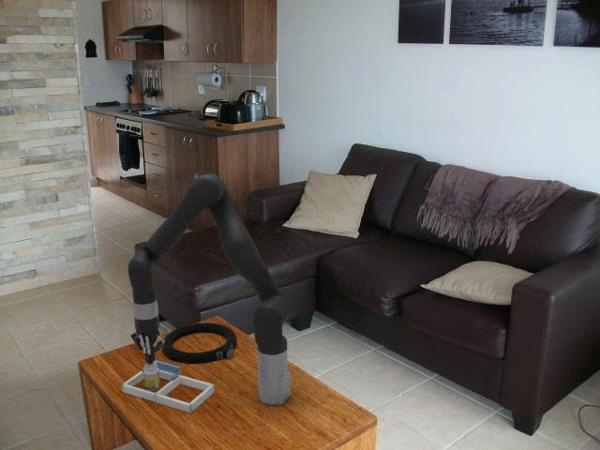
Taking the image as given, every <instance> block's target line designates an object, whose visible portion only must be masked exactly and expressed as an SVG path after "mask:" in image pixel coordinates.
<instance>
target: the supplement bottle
mask: <svg viewBox="0 0 600 450" xmlns="http://www.w3.org/2000/svg"><path fill="white" fill-rule="evenodd" d="M144 367H145V370H144V385H145V390H147V391H150V392H153V391H156V390H159V388H160V387H161V380H160V379H161V378H160V377H159V369H158V367H157V363H156V362H155V361H154V362H153V363H152V364H147V363H145V364H144V366H143V368H144Z"/></svg>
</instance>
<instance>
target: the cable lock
mask: <svg viewBox="0 0 600 450" xmlns="http://www.w3.org/2000/svg"><path fill="white" fill-rule="evenodd" d="M205 332H206V333H215V334H219V335H221V336H223V337H225V339H226V342H225V343H224V344H223V345H220V346H218V347H217V348H214V349H212V350H211V349H210V350H207V351H200V352H188V351H182V350H178V348H177V349H176V348H175V347H174V346H173V343H174V342H176V340H177V339H179V338H181V337H183V336H187V335H190V334H194V333H205ZM164 338H165V339H166V342H165V343H164V345H163V346H162V347H161V349H162V351H163V352H164V354H165V355H166V357H169V358H170V359H172V360H174V361H175V360H176V361H178V362H183V363H192V364H193V363H206V362H211V361H213V360H216V361H217V360H220V359H221V360H222V359H224V360H230V359H233V357H234V356H235V349H234V348H235V347H236V345H237V341H238V340H237V339H238V337H237V334H236V333H235V331H233V329H232V328H230V327H228V326H226V325H222V324H220V323H219V324H218V323H213V322H195V323H191V324H185V325H183V326H182V325H181V326H180V327H178V328H175V329H173V330H172V331H171V332H169V333H168V334H166V335H165V337H164Z"/></svg>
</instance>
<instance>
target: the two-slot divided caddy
mask: <svg viewBox="0 0 600 450" xmlns="http://www.w3.org/2000/svg"><path fill="white" fill-rule="evenodd" d="M155 362H156V363H157V367H158V369H159V377H160V379H163V380H166V381H169V382H168V383H167V384H166V385H164V386H163V387H161V388H160V389H158V391H156V392H153V391H150V390H147V389H144V388H140V387H137V386H136V385H137V384H138V383H140V382H141V381H143V380H145V378H144V370H145V367H144V366H143V367H142V368H141V370H140V372H138V373H136V374H135V375H134V376H132V377H131V378H129V379H127V380H126V381H125V382H124V383H122V384H121V393H122V392H123V393H125V394H128V395H130V396H131V395H132V396H134V397H138V398H141V399H143V400H144V399H145V400H148V401H151V402H154V403H157V404H159V405H160V404H161V405H164V406H166V407H170V408H173V409H175V410H176V409H177V410H178V411H183V412H186V413H190V414H191V413H193V412H194V411H195V410H196V409H197V408H199V406H201V405H202V404H203V403H205V401H206V400H207V399H208V398H210V397H211V396H212V395H213V394H215V392H216V391H215V390H216V386H215V385H216V384H213V383H209V382H207V381H203V380H199V379H195V378H191V377H188V376H185V375H182V373H181V372H182V371H181V366H178V365H176V364H175V365H174V364H170V363H167V362H163V361H160V360H156V359H155ZM180 385H183V386H187V387H191V388H194V389H198V390H201V391H202V392H201V393H200V394H198V395H197V396H196V397H195V398H194V399H192V401H190V403H189V402H186V401H182V400H180V399H176V398H173V397H169V396H167V395H168V394H170V393H171V392H172V391H173V390H174V389H176V388H177V387H178V386H180Z"/></svg>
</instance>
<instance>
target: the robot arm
mask: <svg viewBox="0 0 600 450" xmlns="http://www.w3.org/2000/svg"><path fill="white" fill-rule="evenodd" d="M206 209H208V211H209V213H210V214H211V217H212V218H213V220H214V222H215V225H216V229H217V233H218V237H219V240H220V241H219V242H220V245H221V248H222V250H223V252H224V254H225V256H226V258H227V260H228V262H229V263H230V265H231V268H232V269H233V270H234V272H236V273H237V274H238V275H239V276H240V277H242V278H243V279H244V280H246V281H247V282H248V283H249V284H250V285H251V287H252V289H254V291H255V293H256V295H257V296H258V299H259V301H260V303H259V305H258V306H256V308H255V309H254V311H253V319H252V321H253V331H254V332H253V334H254V335H253V336H254V341H255V343H256V345H257V374H258V375H257V377H258V379H257V381H258V383H257V384H258V399H259V400H260V401H261V403H263V404H266V405H271V406H274V405H280V406H281V405H282V406H283V404H284V403H285V402H286V401H287V400H288V399H289V398H290V396H291V369H290V368H288V339H287V337H285V336H284V334H283V325H284V324H285V322H287V320H288V319H289V317H290V315H291V308H290V307H291V306H290V304H289V302H288V299H287V297H286V296H285V295H284V294H283V292H282V291H281V289H280V288H279V286H278V285H277V283H276V281H275V280H274V279H273V277H272V275H271V273H270V271H269V269H268V268H267V266H266V264H265V262H264V260H263V257H262V256H261V254H260V252H259V250H258V248H257V246H256V244H255V242H254V240H253V238H252V236H251V235H250V233H249V231H248V229H247V227H246V226H245V224H244V222H243V221H242V219H241V217H240V216H239V214H238V212H237V210H236V208H235V206H234V204H233V200H232V199H231V196H230V194H229V191H228V188H227V186H226V183H225V181H224V180H223V179H222V177H220V176H219V175H216V174H214V173H206V174H202V175H199V176H197V177H196V178H194V180H193V181H192V183H191V185H190V186H189V188H188V189H187V191H186V193H185V194H184V195H183V197H182V199H181V200H180V202H179V203H178V205H177V206H176V208H175V209H174V210H173V211H172V212H171V214H170V215H169V216H168V217H167V218H165V220H164V221H163V222H162V224H161V225H159V227H158V228H157V229H156V230H155V231H154V232H153V234H152V235H150V237H149V238H148V240H147V241H146V242H145V243H144V245H142V246H141V248H140V249H139V250H137V252H135V254H134V255H133V256H132V258H131V259H130V261H129V262H128V265H127V272H128V278H129V279H128V280H129V282H130V285H131V286H130V287H131V288H132V300H133V301H132V302H133V307H132V308H133V312H132V313H133V319H134V321H133V322H134V328H135V332H133V333H132V334H130V338H131V339H132V341H133V343H134V345H136V347H137V348H138V350H139V351H143V354H144V360H145V362H146V363H147V364H152V363H153V362H154V361H155V360H156V353H157V352H159V351H160V350H161V349H162V348H163V347H162V346H163V345H164V343H165V342H166V339H165V337H164V338H162V337H161V333H160V331H159V328H160V317H159V316H160V315H159V305H158V301H157V300H158V299H157V289H156V285H155V283H154V282H153V275H152V272H153V269H154V267H156V265H157V264H158V262H159V261H160V260H162V258H163V257H164V256H165V255H167V254H168V253H169V252H170V251H171V250H172V249H173V247H175V245H176V244H177V243H178V242H179V241H180V240H181V238H182V237H183V235H184V233H185V232H186V230H187V229H188V227H189V226H190V225H191V223H193V221H194V220H195V219H196V218H197V217H198V216H199V215H200V214H201V213H202V212H204V211H205V210H206Z"/></svg>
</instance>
